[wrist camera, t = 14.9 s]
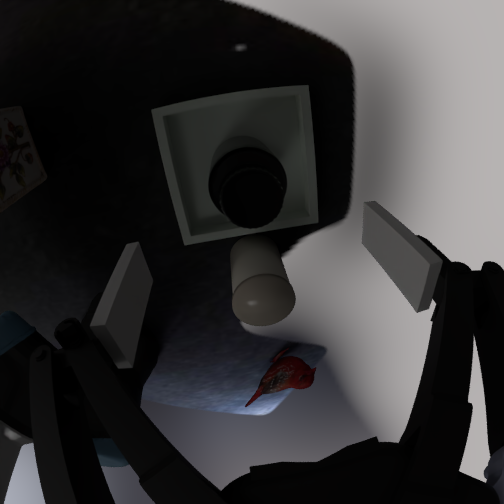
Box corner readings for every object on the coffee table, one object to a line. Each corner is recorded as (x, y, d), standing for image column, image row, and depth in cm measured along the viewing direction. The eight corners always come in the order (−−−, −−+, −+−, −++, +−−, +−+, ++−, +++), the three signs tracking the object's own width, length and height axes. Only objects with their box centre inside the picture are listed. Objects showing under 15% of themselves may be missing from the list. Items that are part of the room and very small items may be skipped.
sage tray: (186, 233, 36) (184, 245, 33) (157, 108, 28) (151, 109, 25) (311, 212, 36) (318, 222, 34) (300, 85, 28) (308, 85, 25)
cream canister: (233, 279, 40) (237, 330, 32) (225, 237, 37) (226, 284, 29) (281, 272, 41) (296, 320, 32) (277, 229, 37) (294, 273, 29)
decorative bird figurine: (310, 334, 48) (325, 380, 40) (247, 383, 55) (252, 425, 46) (299, 329, 47) (313, 376, 39) (236, 379, 53) (240, 423, 45)
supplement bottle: (282, 175, 32) (311, 219, 22) (229, 202, 33) (233, 256, 23) (255, 123, 29) (274, 139, 19) (199, 152, 30) (187, 185, 20)
